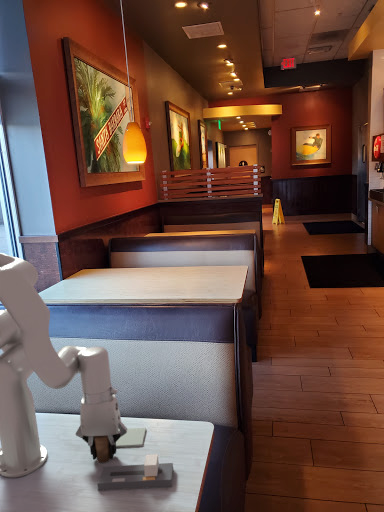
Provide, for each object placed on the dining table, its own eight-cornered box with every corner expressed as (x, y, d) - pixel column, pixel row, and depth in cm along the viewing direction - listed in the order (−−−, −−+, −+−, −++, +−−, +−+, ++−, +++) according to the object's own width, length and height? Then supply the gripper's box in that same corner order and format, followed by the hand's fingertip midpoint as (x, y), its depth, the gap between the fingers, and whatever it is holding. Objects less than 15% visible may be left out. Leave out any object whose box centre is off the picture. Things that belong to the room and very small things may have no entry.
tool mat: (110, 447, 115) (110, 446, 115) (116, 431, 123) (116, 429, 123) (142, 446, 115) (142, 444, 115) (145, 429, 123) (145, 427, 123)
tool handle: (98, 464, 108) (95, 434, 107) (95, 456, 112) (92, 426, 110) (113, 460, 110) (110, 429, 108) (109, 451, 113) (106, 422, 112)
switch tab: (145, 476, 99) (143, 465, 99) (147, 465, 103) (146, 454, 103) (157, 475, 99) (156, 464, 99) (158, 464, 103) (157, 454, 102)
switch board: (98, 490, 99) (97, 483, 99) (104, 473, 105) (103, 466, 104) (171, 486, 98) (171, 479, 98) (173, 469, 104) (172, 462, 104)
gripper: (131, 385, 111) (136, 445, 114) (70, 388, 111) (77, 448, 115) (126, 399, 104) (132, 463, 107) (61, 402, 104) (69, 466, 107)
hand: (104, 455), depth 111 cm, fingers closed on tool handle, 4 cm apart
